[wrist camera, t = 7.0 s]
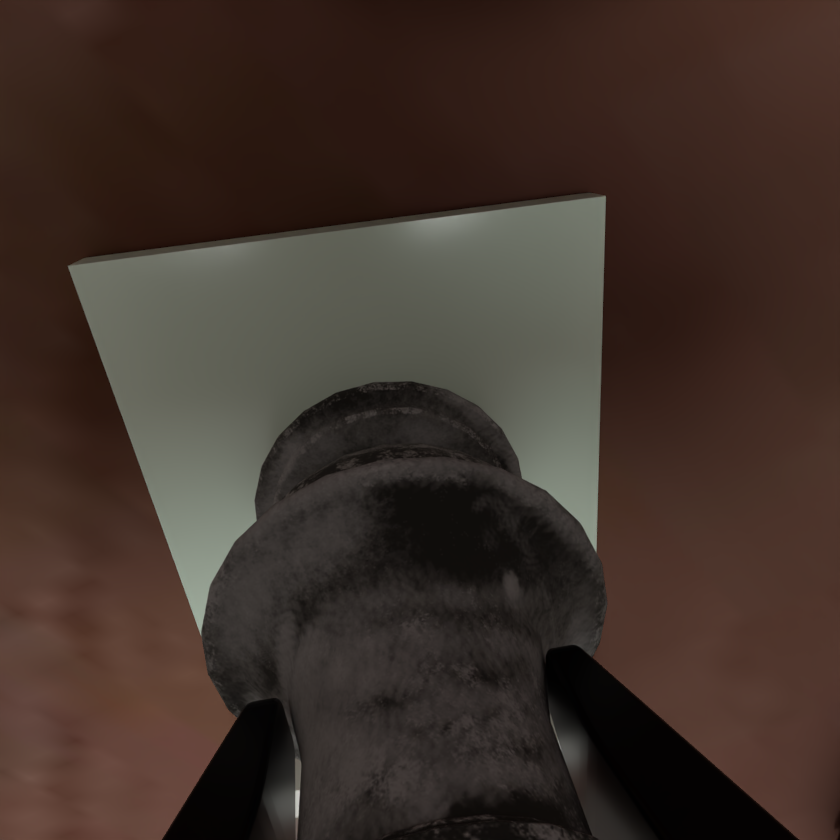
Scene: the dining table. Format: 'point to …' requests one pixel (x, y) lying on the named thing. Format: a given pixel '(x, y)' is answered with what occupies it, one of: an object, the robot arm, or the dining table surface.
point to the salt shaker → (408, 620)
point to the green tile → (350, 348)
